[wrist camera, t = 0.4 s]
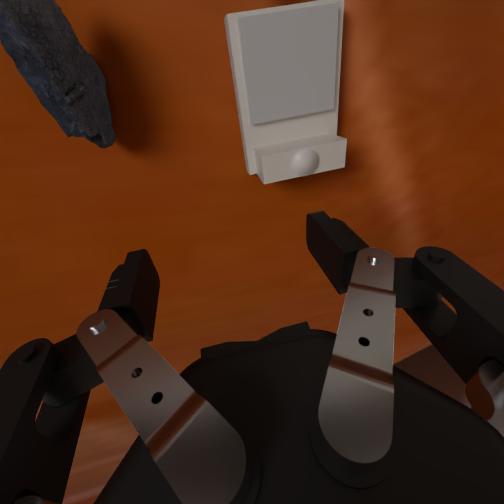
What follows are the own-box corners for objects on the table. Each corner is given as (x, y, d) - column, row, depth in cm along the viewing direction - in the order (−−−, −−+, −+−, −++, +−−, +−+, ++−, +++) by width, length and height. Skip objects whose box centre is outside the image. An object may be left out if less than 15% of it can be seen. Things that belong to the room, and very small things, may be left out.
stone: (144, 126, 32) (128, 142, 24) (103, 148, 33) (74, 170, 25) (52, -20, 24) (-18, -71, 16) (-1, 11, 24) (-95, -23, 16)
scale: (223, 18, 28) (233, 2, 22) (334, 2, 29) (370, -18, 23) (246, 170, 38) (257, 186, 32) (328, 153, 39) (352, 166, 33)
